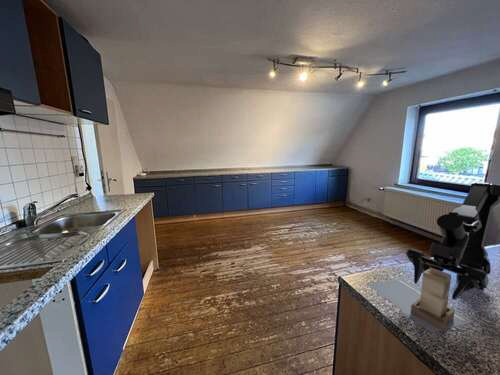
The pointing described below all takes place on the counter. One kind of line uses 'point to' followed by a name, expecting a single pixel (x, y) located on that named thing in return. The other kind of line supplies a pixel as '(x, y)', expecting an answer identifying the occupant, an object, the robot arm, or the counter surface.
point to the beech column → (435, 291)
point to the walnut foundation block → (432, 315)
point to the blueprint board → (412, 301)
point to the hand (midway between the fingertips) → (433, 290)
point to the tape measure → (427, 266)
